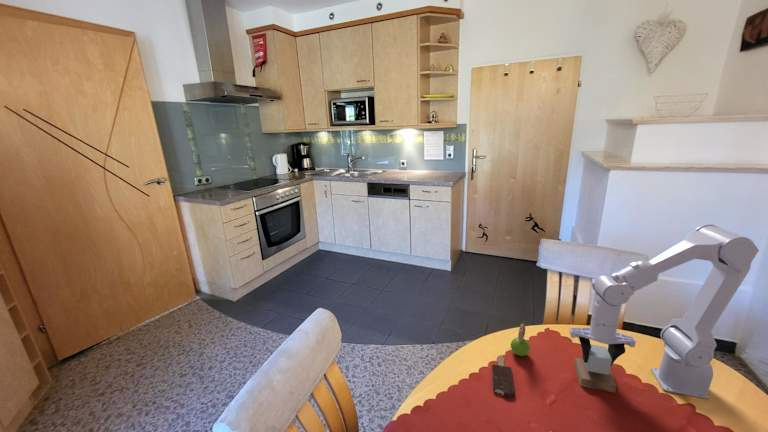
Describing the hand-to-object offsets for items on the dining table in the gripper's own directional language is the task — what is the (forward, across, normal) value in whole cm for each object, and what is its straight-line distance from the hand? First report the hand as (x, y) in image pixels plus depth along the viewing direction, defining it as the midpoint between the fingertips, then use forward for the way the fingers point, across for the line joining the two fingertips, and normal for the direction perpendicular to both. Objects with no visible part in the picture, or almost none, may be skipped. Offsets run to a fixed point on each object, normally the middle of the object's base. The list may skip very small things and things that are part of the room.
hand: (596, 362), depth 88 cm
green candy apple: (+6, +19, -4) cm, 20 cm away
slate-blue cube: (+2, 0, 0) cm, 2 cm away
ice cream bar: (+6, +24, +6) cm, 26 cm away
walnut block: (+6, 0, 0) cm, 6 cm away
